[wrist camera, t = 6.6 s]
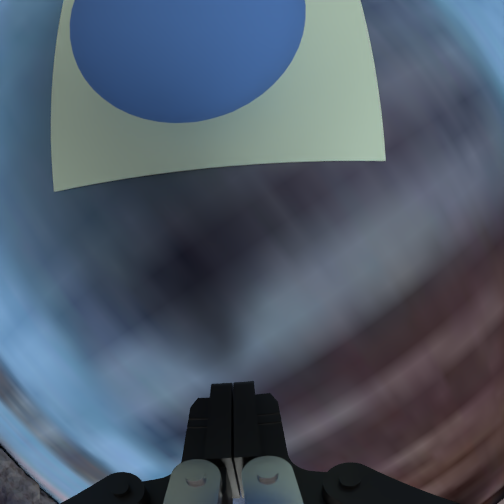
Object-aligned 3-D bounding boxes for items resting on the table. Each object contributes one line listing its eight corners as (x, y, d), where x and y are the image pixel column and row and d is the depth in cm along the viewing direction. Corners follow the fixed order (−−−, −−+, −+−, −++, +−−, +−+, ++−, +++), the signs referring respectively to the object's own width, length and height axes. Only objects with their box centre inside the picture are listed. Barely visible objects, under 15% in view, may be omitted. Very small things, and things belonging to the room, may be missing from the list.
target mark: (56, 191, 10) (54, 191, 10) (77, -46, 7) (76, -48, 7) (383, 160, 10) (385, 160, 10) (334, -73, 7) (335, -75, 7)
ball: (100, -12, 7) (139, 123, 10) (5, -42, 2) (73, 192, 6) (263, -57, 6) (296, 84, 10) (301, -135, 2) (362, 119, 5)
